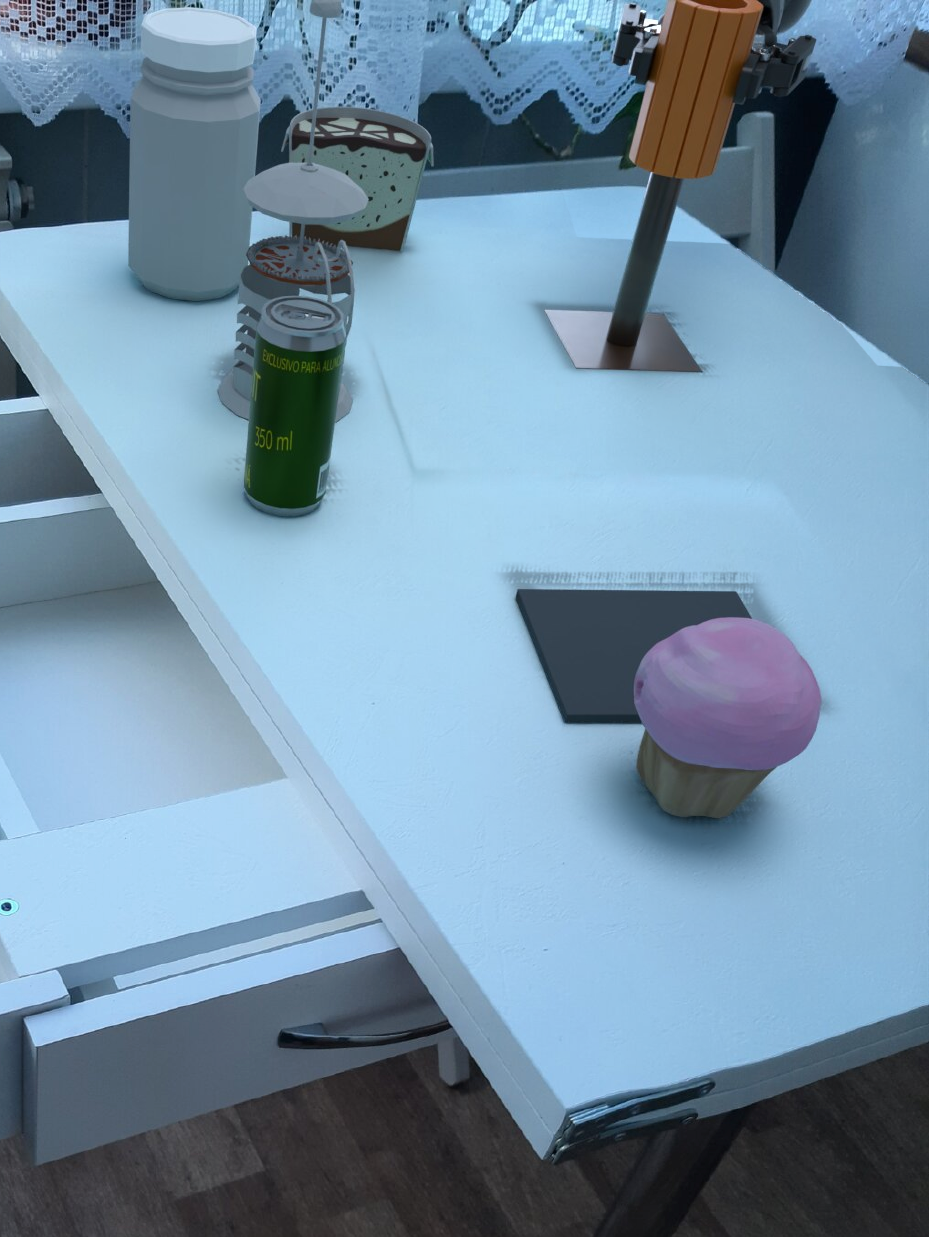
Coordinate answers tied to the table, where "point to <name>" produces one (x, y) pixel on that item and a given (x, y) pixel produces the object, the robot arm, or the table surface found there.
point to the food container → (365, 170)
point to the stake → (632, 302)
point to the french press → (295, 247)
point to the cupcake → (721, 713)
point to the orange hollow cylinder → (693, 85)
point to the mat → (609, 641)
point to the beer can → (293, 404)
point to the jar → (192, 153)
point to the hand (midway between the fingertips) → (693, 77)
